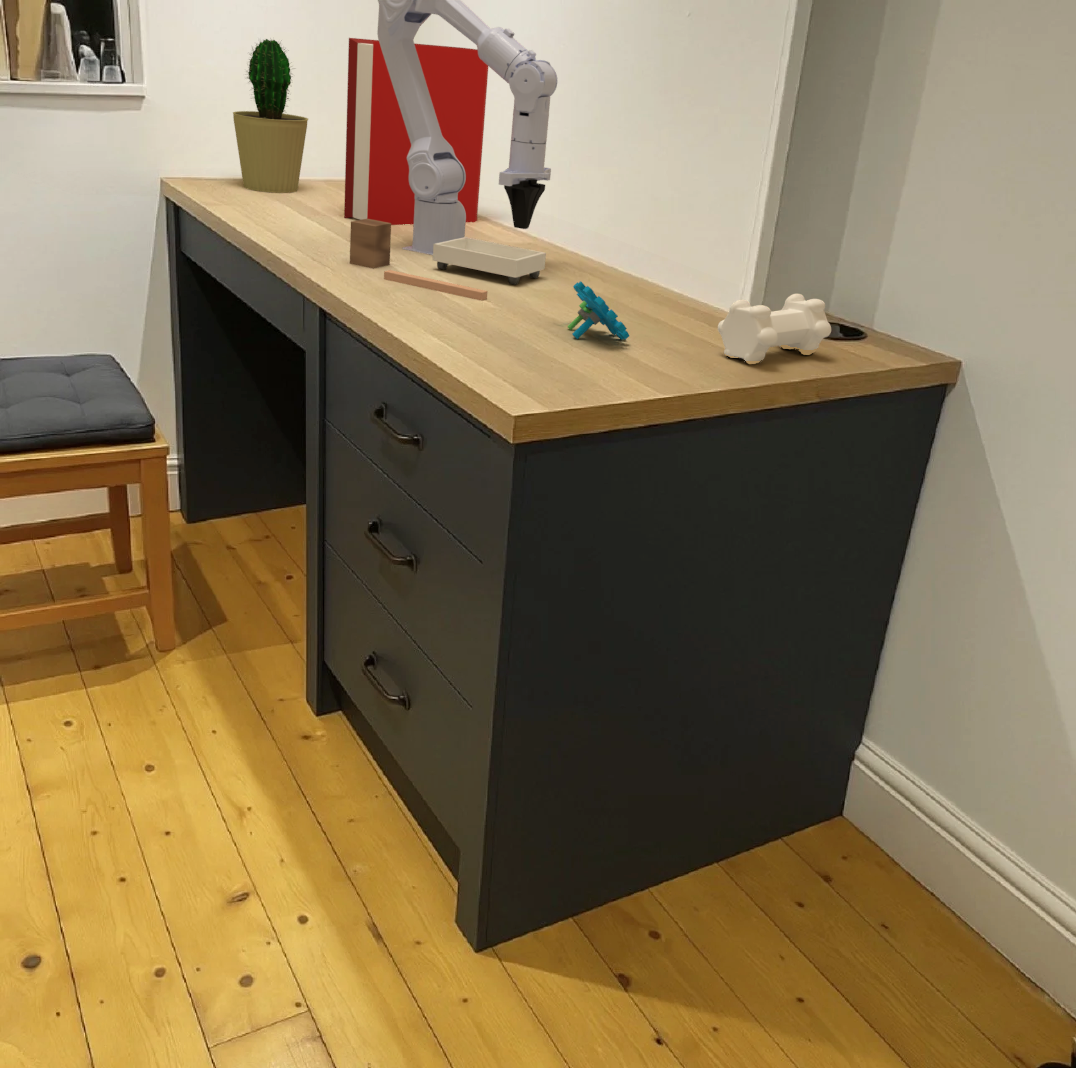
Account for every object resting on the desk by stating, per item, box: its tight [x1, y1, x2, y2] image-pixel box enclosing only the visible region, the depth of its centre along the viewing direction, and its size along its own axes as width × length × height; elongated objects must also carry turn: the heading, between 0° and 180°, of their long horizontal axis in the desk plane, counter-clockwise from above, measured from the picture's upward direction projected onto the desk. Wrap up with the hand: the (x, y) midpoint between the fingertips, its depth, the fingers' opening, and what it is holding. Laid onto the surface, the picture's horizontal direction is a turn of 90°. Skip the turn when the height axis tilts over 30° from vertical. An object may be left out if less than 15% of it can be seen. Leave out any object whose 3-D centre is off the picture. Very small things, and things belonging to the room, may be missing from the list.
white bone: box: [717, 293, 832, 362], centre depth 148 cm, size 15×9×8 cm, turn 130°
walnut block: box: [349, 219, 392, 270], centre depth 174 cm, size 4×4×7 cm
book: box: [343, 37, 489, 226], centre depth 213 cm, size 27×8×32 cm, turn 131°
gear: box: [567, 281, 630, 341], centre depth 148 cm, size 11×6×10 cm
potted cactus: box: [232, 37, 309, 194], centre depth 231 cm, size 15×15×30 cm
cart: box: [432, 236, 547, 286], centre depth 177 cm, size 10×15×4 cm, turn 63°
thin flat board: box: [383, 269, 489, 301], centre depth 173 cm, size 23×17×2 cm
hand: (521, 227), depth 184 cm, fingers closed
